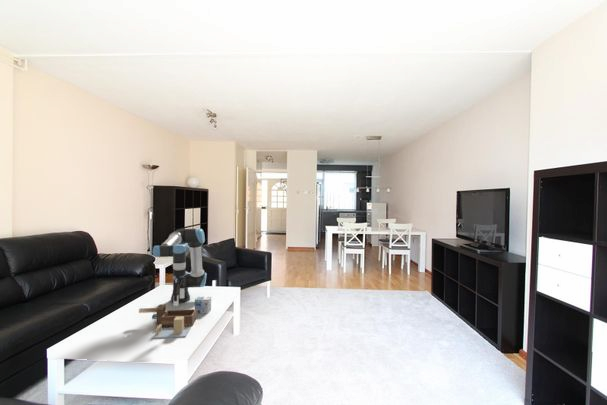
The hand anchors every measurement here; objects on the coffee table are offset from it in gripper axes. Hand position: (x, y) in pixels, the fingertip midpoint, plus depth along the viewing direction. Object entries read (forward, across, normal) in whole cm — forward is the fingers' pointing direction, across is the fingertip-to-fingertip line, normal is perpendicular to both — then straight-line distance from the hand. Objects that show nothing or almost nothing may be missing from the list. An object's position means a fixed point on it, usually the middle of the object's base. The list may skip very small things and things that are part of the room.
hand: (179, 301), depth 185 cm
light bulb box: (+21, -35, +8) cm, 41 cm away
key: (+12, -16, -23) cm, 30 cm away
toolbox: (+20, -16, -6) cm, 26 cm away
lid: (+21, 0, -4) cm, 21 cm away
